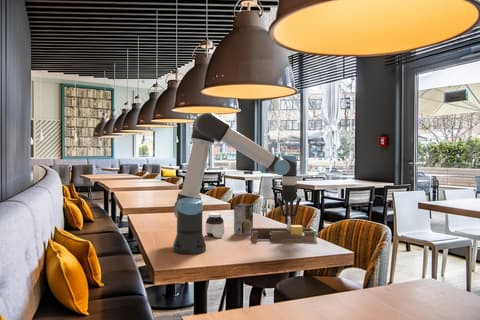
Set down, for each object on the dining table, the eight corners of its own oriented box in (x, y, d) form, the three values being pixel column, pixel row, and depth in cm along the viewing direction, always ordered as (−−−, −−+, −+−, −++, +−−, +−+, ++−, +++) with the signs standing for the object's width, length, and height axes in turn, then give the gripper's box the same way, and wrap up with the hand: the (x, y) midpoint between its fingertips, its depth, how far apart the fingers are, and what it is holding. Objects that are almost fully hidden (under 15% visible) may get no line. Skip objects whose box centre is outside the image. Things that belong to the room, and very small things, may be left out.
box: (316, 241, 208) (316, 230, 208) (252, 241, 206) (252, 230, 206) (311, 237, 218) (312, 227, 218) (251, 237, 217) (251, 226, 217)
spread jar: (215, 232, 228) (215, 212, 228) (231, 235, 221) (231, 214, 221) (200, 236, 218) (201, 214, 218) (217, 239, 211) (217, 216, 211)
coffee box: (245, 231, 232) (245, 203, 231) (253, 233, 227) (253, 204, 227) (233, 233, 225) (233, 204, 225) (241, 235, 221) (241, 205, 220)
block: (302, 234, 210) (302, 226, 210) (290, 234, 210) (291, 226, 210) (300, 232, 215) (300, 225, 215) (289, 232, 215) (289, 225, 215)
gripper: (300, 183, 216) (299, 228, 217) (275, 183, 215) (275, 228, 216) (303, 185, 208) (302, 231, 209) (277, 185, 208) (277, 231, 208)
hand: (288, 229), depth 212 cm, fingers closed
